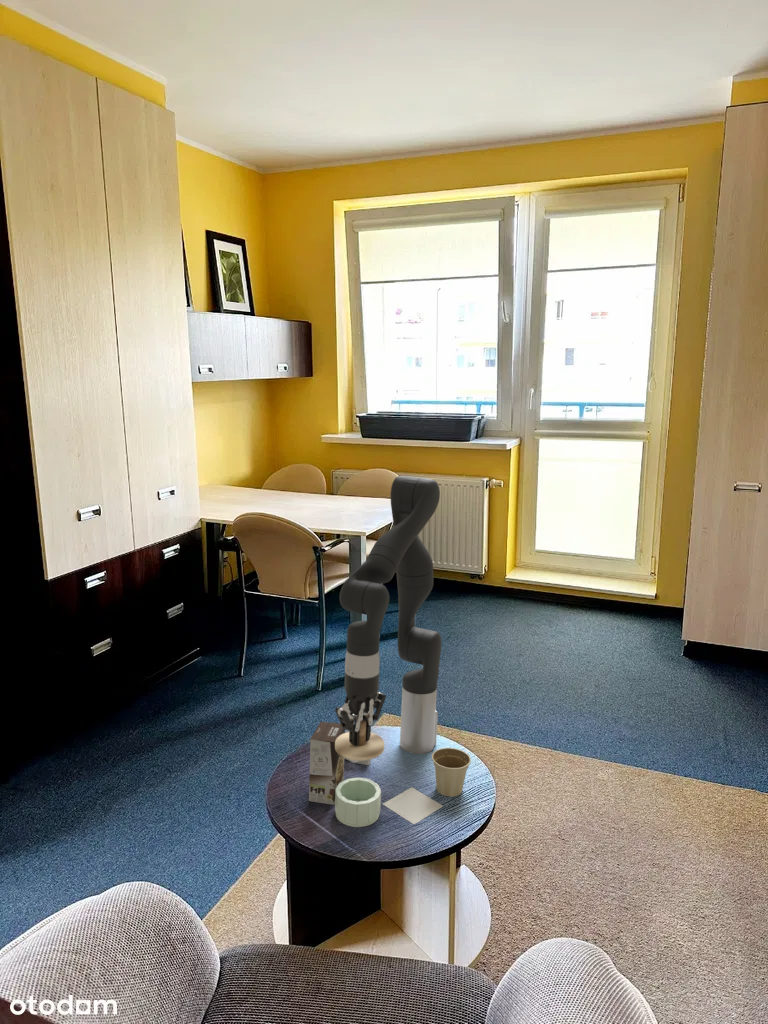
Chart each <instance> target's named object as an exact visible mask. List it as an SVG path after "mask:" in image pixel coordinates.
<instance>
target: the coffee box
mask: <svg viewBox="0 0 768 1024" xmlns="http://www.w3.org/2000/svg"><path fill="white" fill-rule="evenodd" d="M344 733H346V729H345V728H343V727H342V725H341V723H340V722H339V723H337V722H327V721H320V722H319V724H318V725H317V727H316V728H315V731H314V732H313V734H312V735H311V737H310V738H309V739H310V743H309V744H310V745H309V746H310V747H309V778H308V779H309V783H308V786H309V787H308V788H309V789H308V801H309V802H314V803H321V804H326V805H334V806H335V790H336V788H337V786H338V784H339V783H341V782H343V781H345V759H344V757H342V756H340V755H339V754H338V753H337V752H336V750H335V741H336V739H337V738H338V737H339V736H340V735H342V734H344Z"/></svg>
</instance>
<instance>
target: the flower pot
mask: <svg viewBox="0 0 768 1024" xmlns="http://www.w3.org/2000/svg"><path fill="white" fill-rule="evenodd" d="M431 761H432V762H433V766H434V773H435V774H434V775H435V783H436V784H435V785H436V786H435V787H436V791H437V792H438V793H439V794H440V795H442V796H444V797H452V798H453V797H457V796H460V795H461V794H462V792H463V787H464V784H465V781H466V780H465V779H466V773H467V770H468V768H469V766H470V765H471V763H472V758H471V756H470V755H469V754H468V753H467V752H466V751H465V750H464V751H463V750H461V749H459V748H455V747H442V748H438V749H436V750H435V751H434V752H433V753H432V754H431Z"/></svg>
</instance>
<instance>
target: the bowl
mask: <svg viewBox="0 0 768 1024" xmlns="http://www.w3.org/2000/svg"><path fill="white" fill-rule="evenodd" d="M381 799H382V790H381V788H380V786H379V784H378V783H376V782H375V781H373V780H372V779H369V778H365V777H353V778H347V779H344V781H343V782H341V783H339V784H338V786H337V788H336V790H335V803H334V810H335V817H336V819H337V820H338V821H339V823H341V824H344V825H345V826H348V827H352V828H362V827H368V826H370V825H372V824H374V823H376V822H377V820H379V817H380V813H381V807H382V805H381V804H382V801H381Z"/></svg>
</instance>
